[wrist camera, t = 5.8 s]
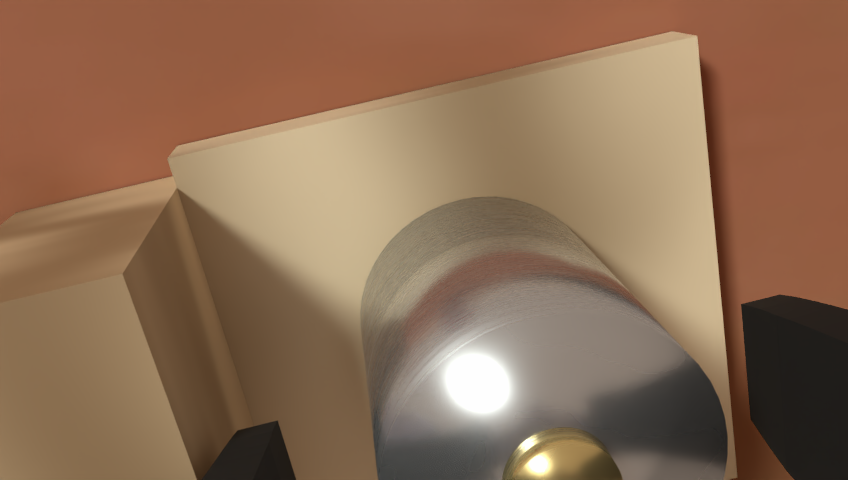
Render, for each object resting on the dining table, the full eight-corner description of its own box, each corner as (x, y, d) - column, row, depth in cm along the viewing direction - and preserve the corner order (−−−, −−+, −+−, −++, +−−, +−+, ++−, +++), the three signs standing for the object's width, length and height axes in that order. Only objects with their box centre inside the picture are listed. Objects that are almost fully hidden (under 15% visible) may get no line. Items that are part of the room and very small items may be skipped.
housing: (406, 451, 16) (448, 688, 10) (324, 246, 14) (327, 408, 9) (623, 373, 16) (770, 572, 10) (565, 161, 14) (704, 273, 9)
